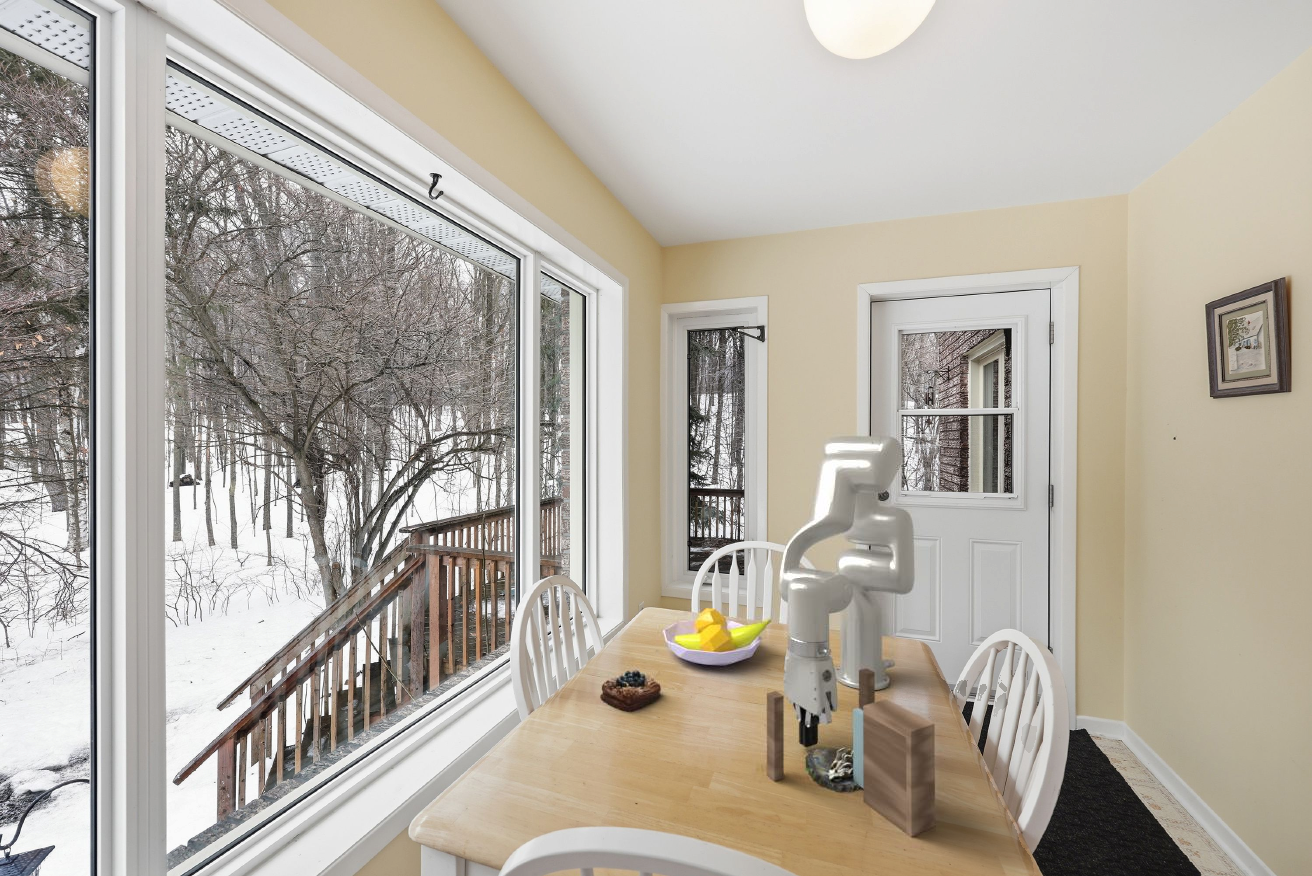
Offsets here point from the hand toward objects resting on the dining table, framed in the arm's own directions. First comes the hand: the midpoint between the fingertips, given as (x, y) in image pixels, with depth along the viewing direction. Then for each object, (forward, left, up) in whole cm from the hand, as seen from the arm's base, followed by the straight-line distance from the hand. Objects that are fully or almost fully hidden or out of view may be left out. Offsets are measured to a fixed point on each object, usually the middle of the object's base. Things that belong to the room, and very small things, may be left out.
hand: (808, 743), depth 101 cm
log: (0, +8, -2) cm, 8 cm away
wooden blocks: (0, +14, -1) cm, 14 cm away
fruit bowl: (-9, -46, -1) cm, 47 cm away
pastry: (+21, -34, -2) cm, 40 cm away
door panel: (0, +16, -1) cm, 16 cm away
